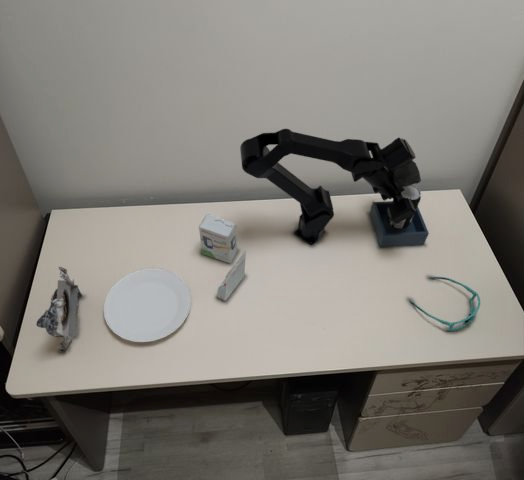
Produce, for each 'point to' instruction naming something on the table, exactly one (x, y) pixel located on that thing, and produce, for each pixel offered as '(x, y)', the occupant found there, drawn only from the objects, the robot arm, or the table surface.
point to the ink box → (218, 238)
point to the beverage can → (415, 197)
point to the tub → (394, 236)
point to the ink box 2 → (232, 278)
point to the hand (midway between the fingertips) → (408, 205)
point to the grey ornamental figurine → (62, 311)
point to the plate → (147, 305)
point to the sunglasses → (466, 320)
